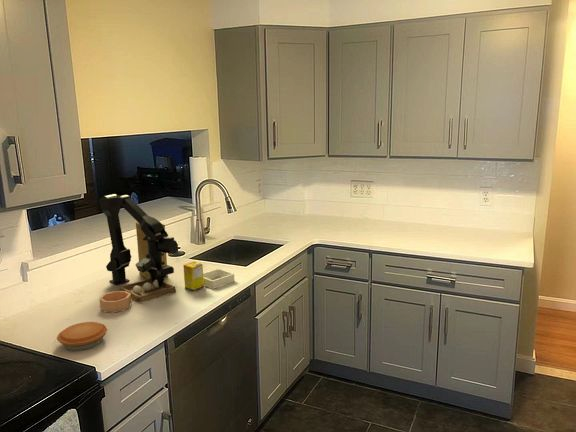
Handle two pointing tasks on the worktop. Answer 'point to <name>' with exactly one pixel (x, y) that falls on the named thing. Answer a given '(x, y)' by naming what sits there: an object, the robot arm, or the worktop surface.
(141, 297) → the tray
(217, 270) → the cream holder
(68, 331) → the pie
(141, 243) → the food packaging
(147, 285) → the pebble
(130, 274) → the worktop surface
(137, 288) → the pebble
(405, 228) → the worktop surface
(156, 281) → the pebble
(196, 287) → the supplement box
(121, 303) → the bowl
